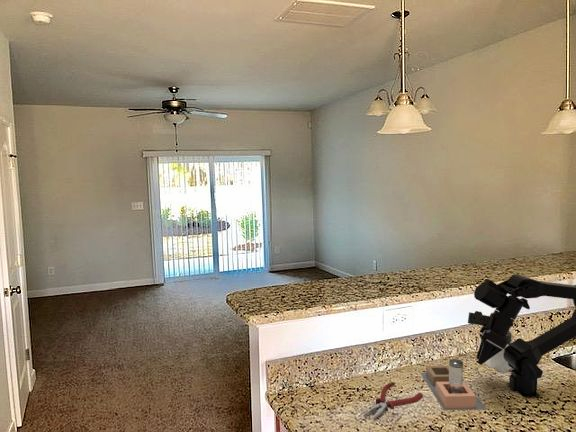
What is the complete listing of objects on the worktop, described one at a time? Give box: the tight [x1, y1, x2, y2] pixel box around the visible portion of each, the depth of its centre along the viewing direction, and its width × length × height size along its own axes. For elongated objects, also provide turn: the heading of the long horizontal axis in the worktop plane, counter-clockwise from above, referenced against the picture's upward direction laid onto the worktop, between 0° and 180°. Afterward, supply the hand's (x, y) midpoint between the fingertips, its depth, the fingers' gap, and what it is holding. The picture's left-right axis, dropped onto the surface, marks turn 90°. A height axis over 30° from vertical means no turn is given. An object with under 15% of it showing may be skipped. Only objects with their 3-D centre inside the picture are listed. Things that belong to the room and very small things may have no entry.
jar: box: [483, 330, 513, 373], centre depth 147 cm, size 9×8×12 cm
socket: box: [436, 380, 477, 409], centre depth 125 cm, size 8×8×4 cm
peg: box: [448, 358, 464, 394], centre depth 125 cm, size 4×4×12 cm
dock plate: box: [420, 365, 488, 411], centre depth 131 cm, size 12×22×4 cm, turn 179°
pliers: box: [363, 381, 424, 420], centre depth 125 cm, size 11×20×3 cm, turn 134°
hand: (478, 361), depth 128 cm, fingers open, 9 cm apart
